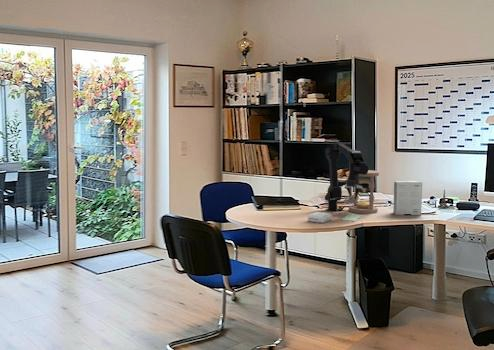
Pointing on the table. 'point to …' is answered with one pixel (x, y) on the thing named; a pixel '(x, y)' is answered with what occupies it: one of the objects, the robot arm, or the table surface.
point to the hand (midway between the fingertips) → (353, 199)
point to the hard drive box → (407, 197)
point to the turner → (350, 199)
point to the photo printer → (319, 217)
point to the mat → (351, 217)
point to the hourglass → (365, 206)
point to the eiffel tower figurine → (444, 203)
